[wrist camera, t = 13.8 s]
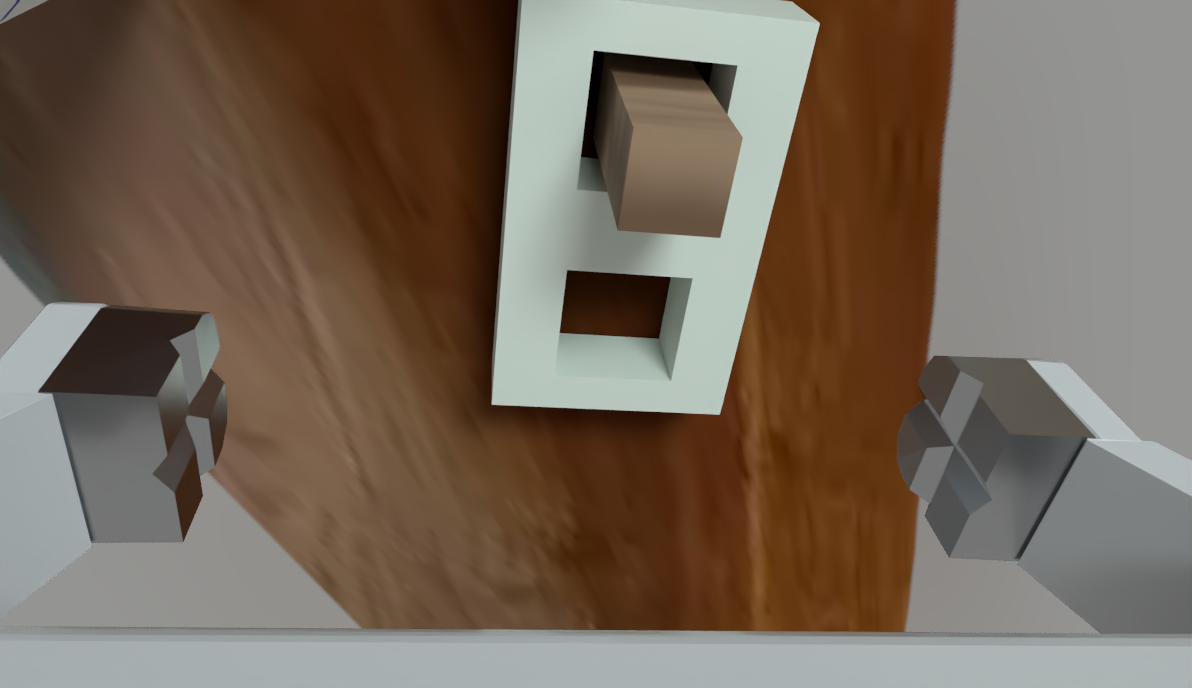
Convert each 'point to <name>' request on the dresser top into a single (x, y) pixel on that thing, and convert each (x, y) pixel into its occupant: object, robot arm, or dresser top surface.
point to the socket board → (584, 214)
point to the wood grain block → (664, 146)
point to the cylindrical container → (16, 8)
